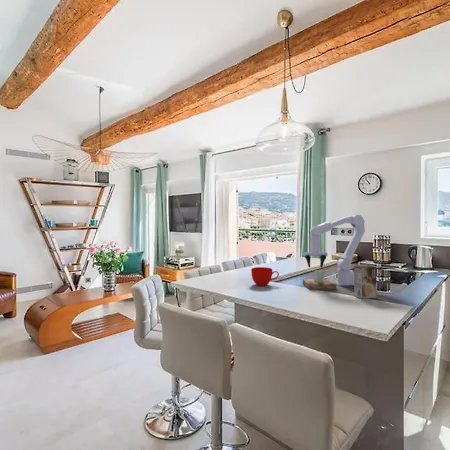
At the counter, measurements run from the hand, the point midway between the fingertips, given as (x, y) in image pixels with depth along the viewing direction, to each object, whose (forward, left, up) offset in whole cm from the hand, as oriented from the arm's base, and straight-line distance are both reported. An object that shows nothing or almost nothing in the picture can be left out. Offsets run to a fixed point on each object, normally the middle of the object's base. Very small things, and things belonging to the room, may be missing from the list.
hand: (315, 267), depth 196 cm
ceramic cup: (+32, +3, -11) cm, 34 cm away
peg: (0, +8, -10) cm, 13 cm away
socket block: (0, +8, -10) cm, 13 cm away
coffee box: (-17, +32, -11) cm, 38 cm away
